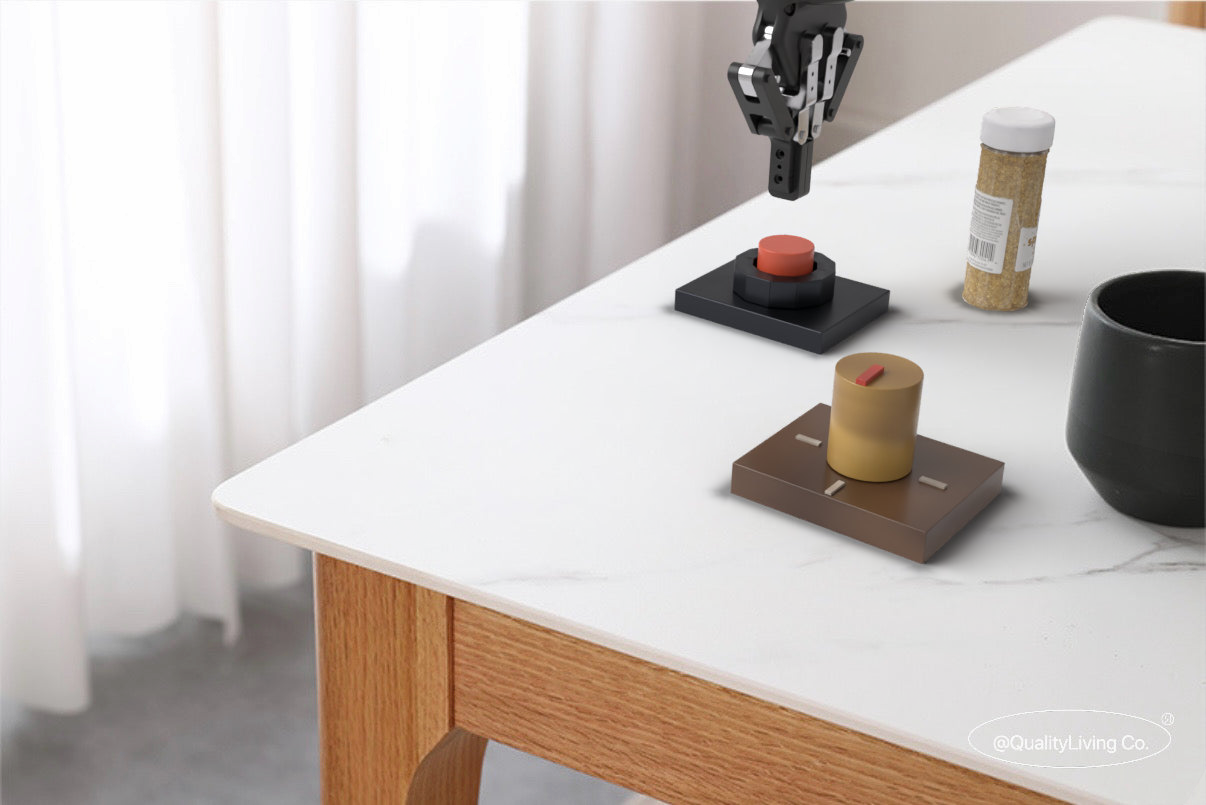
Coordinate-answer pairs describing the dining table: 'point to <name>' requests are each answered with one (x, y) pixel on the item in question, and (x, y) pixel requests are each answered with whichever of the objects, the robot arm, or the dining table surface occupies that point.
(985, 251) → the sprinkles bottle
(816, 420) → the lock plate
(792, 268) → the button
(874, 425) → the lock knob
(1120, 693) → the dining table surface
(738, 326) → the button block
